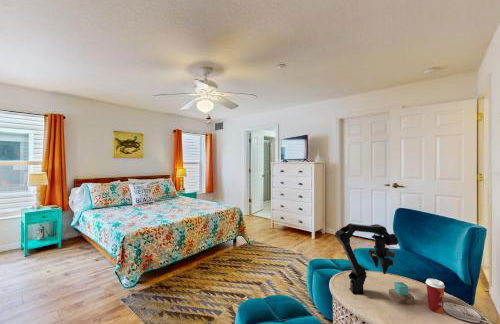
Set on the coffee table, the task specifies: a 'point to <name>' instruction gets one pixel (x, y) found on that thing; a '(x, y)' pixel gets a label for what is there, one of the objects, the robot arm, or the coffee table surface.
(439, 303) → the coffee cup
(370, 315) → the coffee table surface
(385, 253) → the robot arm
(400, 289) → the teal cube
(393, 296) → the walnut block
